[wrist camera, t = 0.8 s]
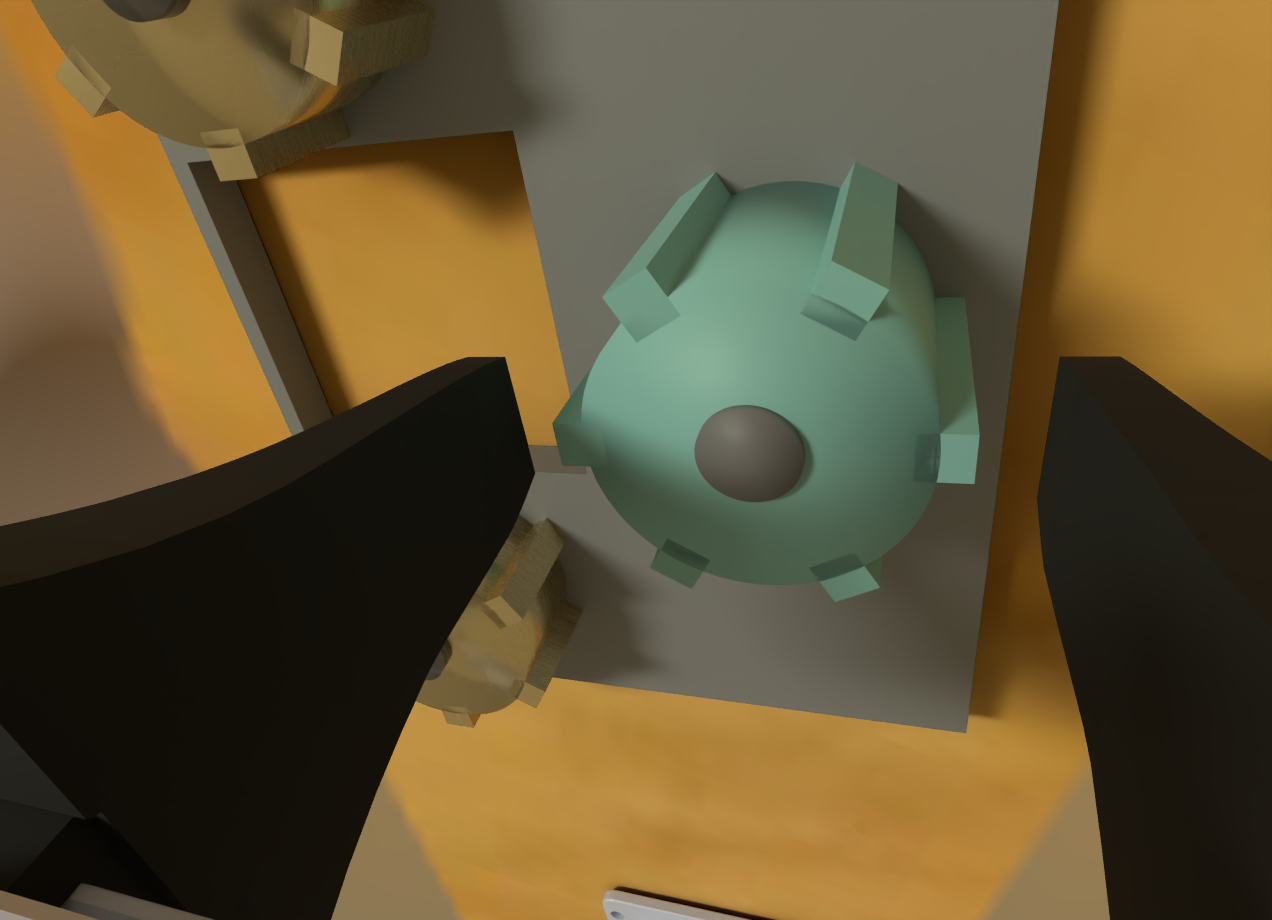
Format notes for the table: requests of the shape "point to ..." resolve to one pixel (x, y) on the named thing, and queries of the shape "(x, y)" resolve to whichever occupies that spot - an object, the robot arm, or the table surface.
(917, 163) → the gear board
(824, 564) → the teal gear
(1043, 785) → the table surface
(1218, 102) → the table surface
